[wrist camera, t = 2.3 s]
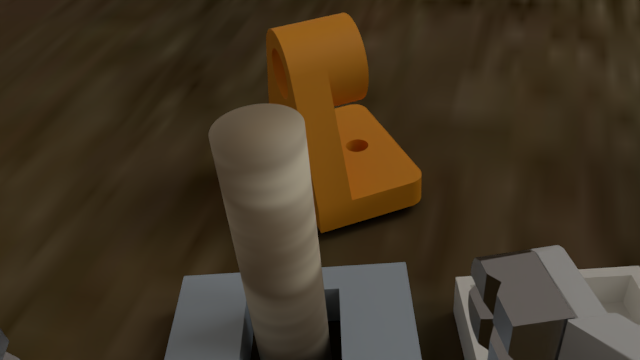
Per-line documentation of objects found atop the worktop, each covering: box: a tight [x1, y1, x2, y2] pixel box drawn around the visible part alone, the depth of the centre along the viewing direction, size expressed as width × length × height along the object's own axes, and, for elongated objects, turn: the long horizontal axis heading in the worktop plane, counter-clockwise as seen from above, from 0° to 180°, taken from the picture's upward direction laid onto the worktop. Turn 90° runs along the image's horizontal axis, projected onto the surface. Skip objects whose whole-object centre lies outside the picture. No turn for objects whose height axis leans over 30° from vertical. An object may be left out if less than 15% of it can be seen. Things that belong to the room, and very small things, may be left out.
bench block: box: [164, 262, 422, 360], centre depth 30 cm, size 12×8×2 cm, turn 90°
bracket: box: [266, 13, 422, 233], centre depth 39 cm, size 11×7×12 cm, turn 20°
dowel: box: [209, 104, 332, 360], centre depth 27 cm, size 4×4×14 cm
